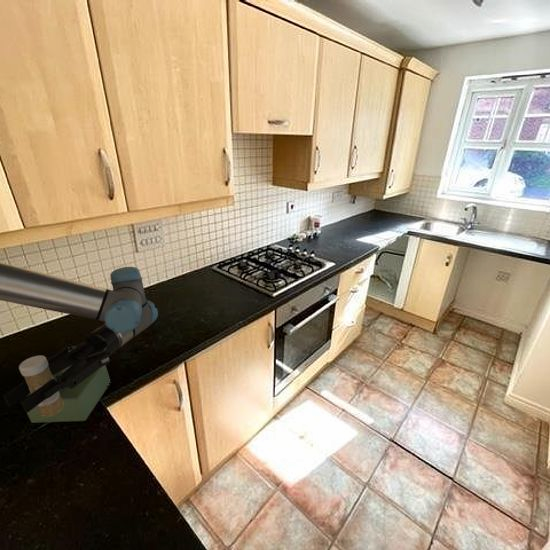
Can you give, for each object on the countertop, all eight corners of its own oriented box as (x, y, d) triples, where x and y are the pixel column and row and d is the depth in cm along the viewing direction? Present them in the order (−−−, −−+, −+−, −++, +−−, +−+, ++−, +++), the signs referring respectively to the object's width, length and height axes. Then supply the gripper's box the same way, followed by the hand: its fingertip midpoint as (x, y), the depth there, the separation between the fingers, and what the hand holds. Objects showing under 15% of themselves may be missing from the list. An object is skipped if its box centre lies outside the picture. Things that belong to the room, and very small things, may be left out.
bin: (31, 422, 82) (21, 401, 79) (64, 383, 95) (57, 364, 92) (85, 420, 82) (77, 399, 79) (111, 382, 95) (105, 362, 92)
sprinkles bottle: (39, 409, 67) (17, 361, 62) (63, 398, 70) (43, 351, 65) (42, 422, 64) (19, 372, 59) (67, 410, 67) (47, 361, 61)
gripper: (139, 355, 78) (52, 429, 58) (88, 343, 84) (-7, 407, 64) (132, 331, 75) (39, 400, 55) (81, 320, 81) (-21, 379, 61)
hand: (15, 403), depth 59 cm, fingers closed on sprinkles bottle, 4 cm apart
